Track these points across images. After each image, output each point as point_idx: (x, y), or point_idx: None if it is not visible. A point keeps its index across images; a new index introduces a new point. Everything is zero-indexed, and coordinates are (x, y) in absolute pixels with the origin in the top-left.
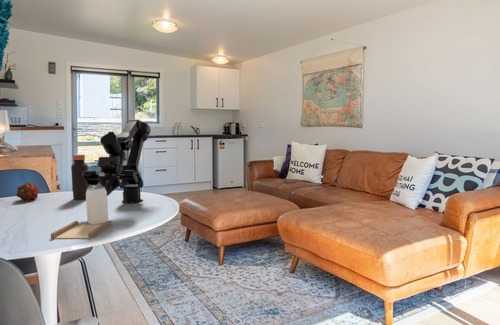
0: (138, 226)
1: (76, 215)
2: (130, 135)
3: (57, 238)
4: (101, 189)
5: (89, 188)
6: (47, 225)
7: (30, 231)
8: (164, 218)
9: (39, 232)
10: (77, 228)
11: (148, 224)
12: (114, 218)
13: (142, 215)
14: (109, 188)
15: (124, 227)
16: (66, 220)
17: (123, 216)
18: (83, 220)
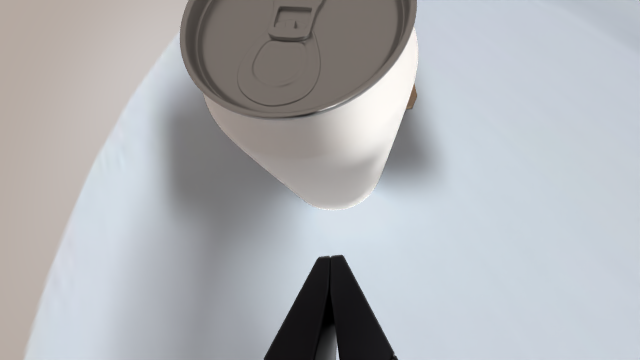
0: (142, 130)
1: (589, 314)
2: None
3: None
4: (207, 4)
5: (392, 7)
6: (563, 92)
7: (551, 9)
8: (59, 259)
9: (494, 6)
10: None
11: (111, 160)
12: (291, 247)
13: (166, 320)
14: (274, 355)
15: (189, 111)
16: (544, 188)
17: (260, 294)
18: (439, 196)
